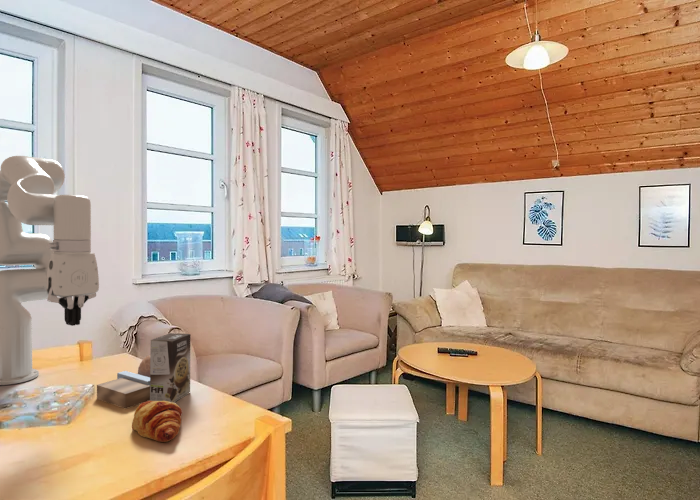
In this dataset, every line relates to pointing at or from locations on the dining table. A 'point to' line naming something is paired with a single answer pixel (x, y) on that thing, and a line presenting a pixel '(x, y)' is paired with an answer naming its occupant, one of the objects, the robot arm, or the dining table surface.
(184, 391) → the coffee box
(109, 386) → the slab
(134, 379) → the rail
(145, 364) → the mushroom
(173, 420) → the croissant
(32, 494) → the dining table surface
